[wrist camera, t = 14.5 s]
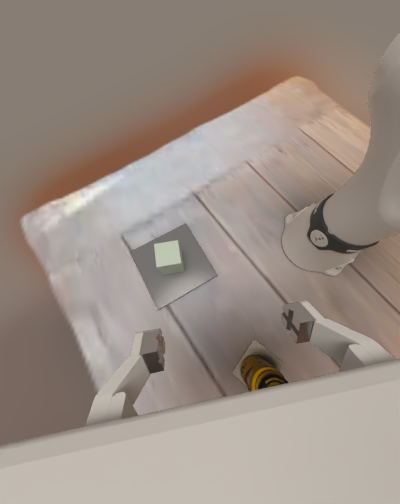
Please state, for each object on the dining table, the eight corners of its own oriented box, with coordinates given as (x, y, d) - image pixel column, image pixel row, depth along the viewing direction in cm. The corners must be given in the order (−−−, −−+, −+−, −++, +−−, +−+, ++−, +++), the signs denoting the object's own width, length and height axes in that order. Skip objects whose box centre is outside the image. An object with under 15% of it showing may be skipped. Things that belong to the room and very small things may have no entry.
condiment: (231, 373, 38) (245, 399, 27) (253, 338, 40) (275, 349, 29) (260, 399, 37) (288, 439, 25) (282, 361, 39) (316, 383, 27)
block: (181, 252, 45) (177, 240, 38) (184, 271, 44) (181, 262, 36) (161, 255, 45) (153, 244, 37) (164, 274, 43) (156, 267, 36)
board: (186, 224, 49) (185, 223, 48) (217, 275, 44) (217, 275, 43) (131, 253, 46) (129, 252, 45) (158, 309, 42) (157, 309, 41)
